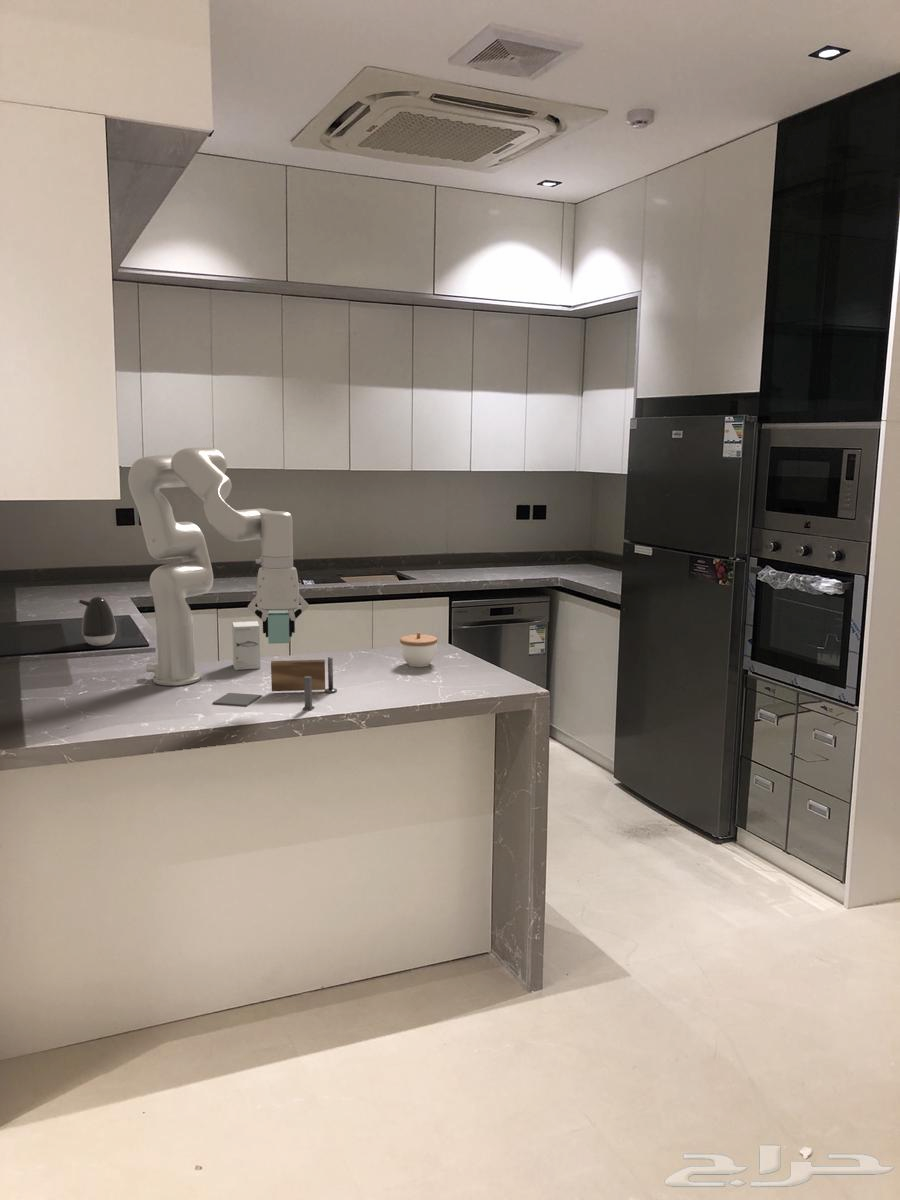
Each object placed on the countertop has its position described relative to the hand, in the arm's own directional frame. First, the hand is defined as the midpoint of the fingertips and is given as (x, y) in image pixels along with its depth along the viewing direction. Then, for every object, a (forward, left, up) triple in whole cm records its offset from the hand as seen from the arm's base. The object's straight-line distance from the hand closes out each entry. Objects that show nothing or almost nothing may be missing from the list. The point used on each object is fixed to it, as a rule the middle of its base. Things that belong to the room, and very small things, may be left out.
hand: (279, 635), depth 235 cm
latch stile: (+9, -4, -17) cm, 20 cm away
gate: (+1, +9, -16) cm, 19 cm away
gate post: (+9, +12, -17) cm, 23 cm away
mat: (-11, -1, -17) cm, 20 cm away
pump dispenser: (-80, +47, -17) cm, 95 cm away
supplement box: (-23, +31, -17) cm, 42 cm away
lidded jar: (+24, +45, -17) cm, 54 cm away
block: (0, 0, -2) cm, 2 cm away
